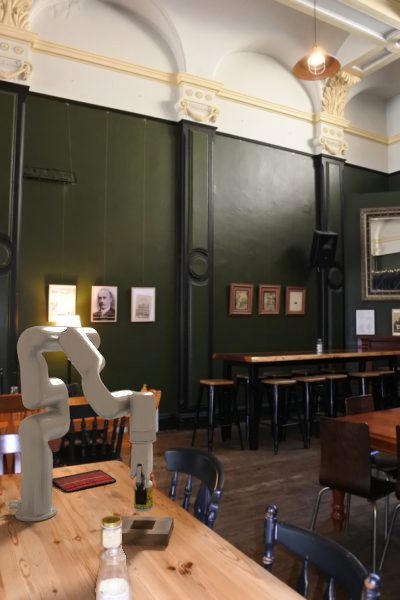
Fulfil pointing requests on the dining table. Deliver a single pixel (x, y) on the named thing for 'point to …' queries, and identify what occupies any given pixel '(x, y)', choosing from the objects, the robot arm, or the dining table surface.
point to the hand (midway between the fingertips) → (143, 499)
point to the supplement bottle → (149, 497)
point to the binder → (83, 481)
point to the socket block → (146, 530)
